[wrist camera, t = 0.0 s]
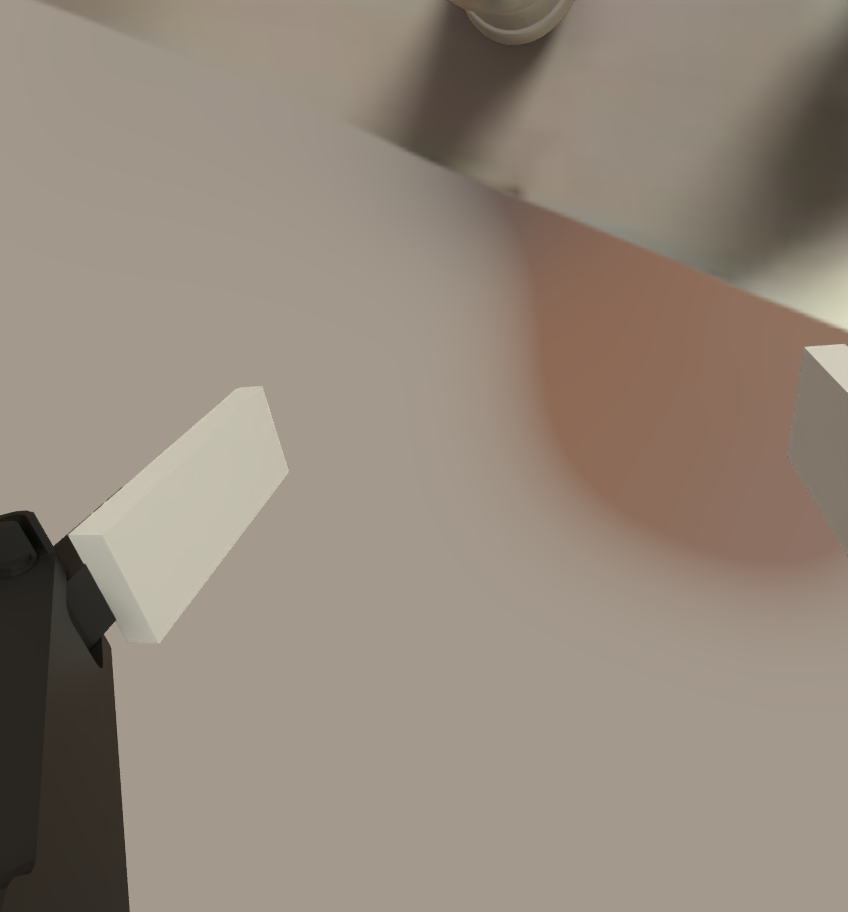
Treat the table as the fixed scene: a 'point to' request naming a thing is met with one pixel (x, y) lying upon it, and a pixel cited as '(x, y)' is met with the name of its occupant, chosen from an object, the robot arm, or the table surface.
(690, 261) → the table surface
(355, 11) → the table surface
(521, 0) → the plastic bottle
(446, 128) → the table surface
